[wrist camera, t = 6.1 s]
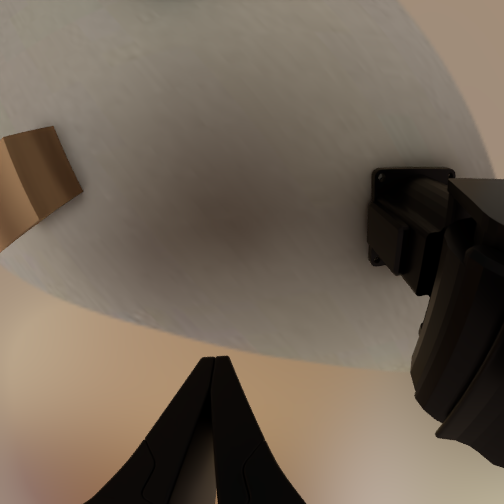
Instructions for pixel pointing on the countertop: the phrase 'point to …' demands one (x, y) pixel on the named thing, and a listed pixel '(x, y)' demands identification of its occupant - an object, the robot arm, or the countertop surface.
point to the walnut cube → (32, 181)
